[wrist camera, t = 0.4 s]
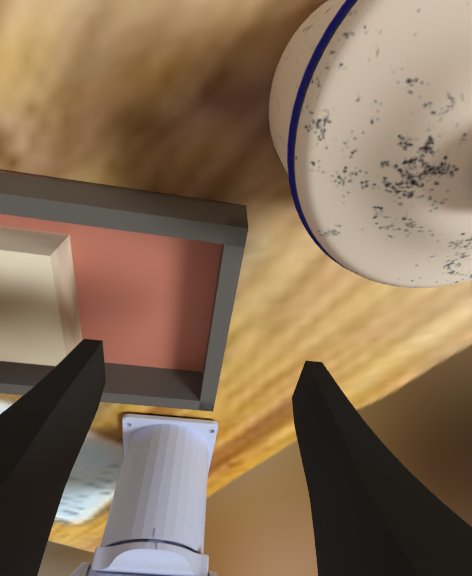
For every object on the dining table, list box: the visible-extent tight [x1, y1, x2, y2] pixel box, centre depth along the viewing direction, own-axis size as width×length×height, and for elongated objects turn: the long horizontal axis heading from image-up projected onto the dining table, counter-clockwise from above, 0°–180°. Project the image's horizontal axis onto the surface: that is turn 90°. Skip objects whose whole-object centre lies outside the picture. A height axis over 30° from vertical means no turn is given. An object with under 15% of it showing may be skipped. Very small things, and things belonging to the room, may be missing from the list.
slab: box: [0, 225, 82, 366], centre depth 20 cm, size 8×7×2 cm
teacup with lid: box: [269, 0, 472, 288], centre depth 11 cm, size 12×9×12 cm
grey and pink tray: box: [0, 169, 248, 411], centre depth 21 cm, size 14×17×3 cm
